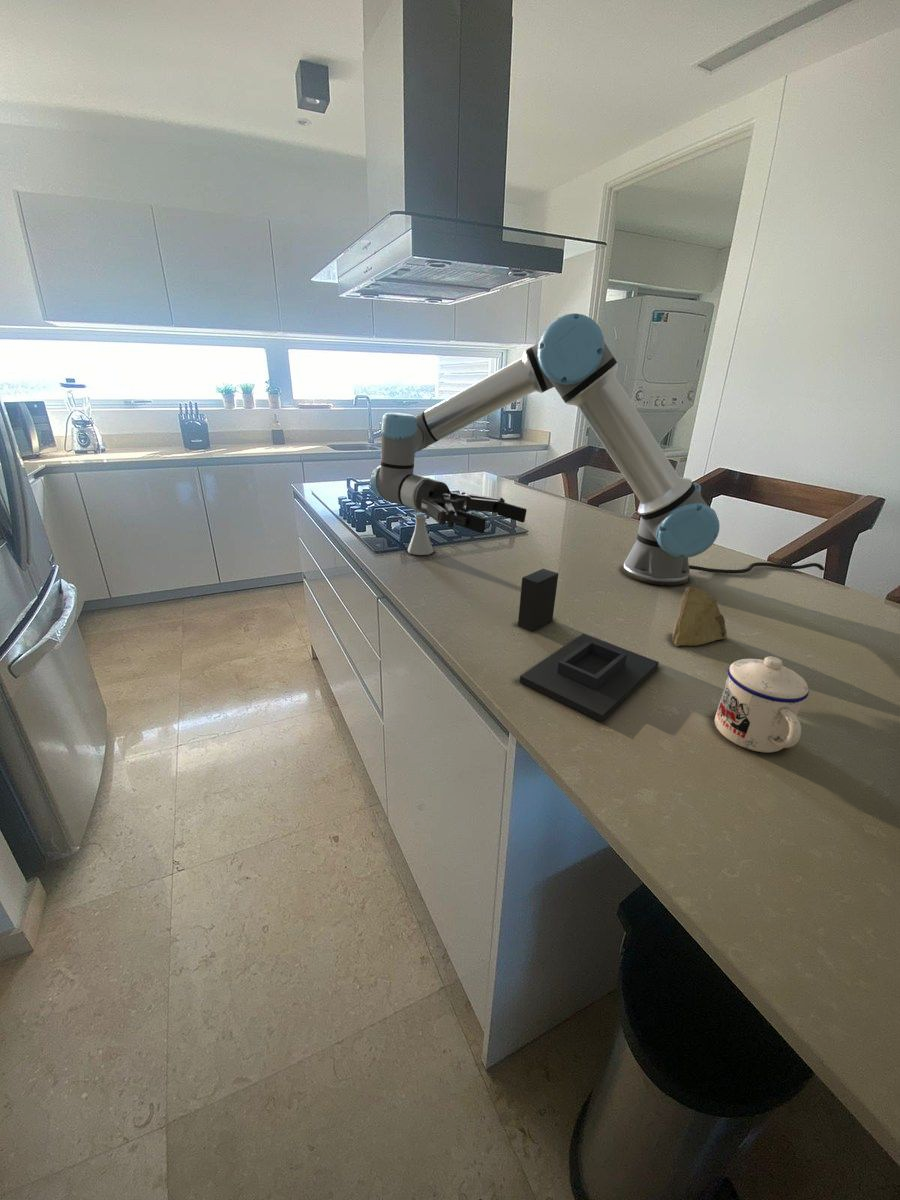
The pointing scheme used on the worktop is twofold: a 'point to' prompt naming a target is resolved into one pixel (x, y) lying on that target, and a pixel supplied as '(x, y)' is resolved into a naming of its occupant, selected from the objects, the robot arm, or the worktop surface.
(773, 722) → the teacup with lid
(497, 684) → the worktop surface
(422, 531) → the flask
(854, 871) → the worktop surface
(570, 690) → the base pad
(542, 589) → the black block
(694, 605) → the rock
